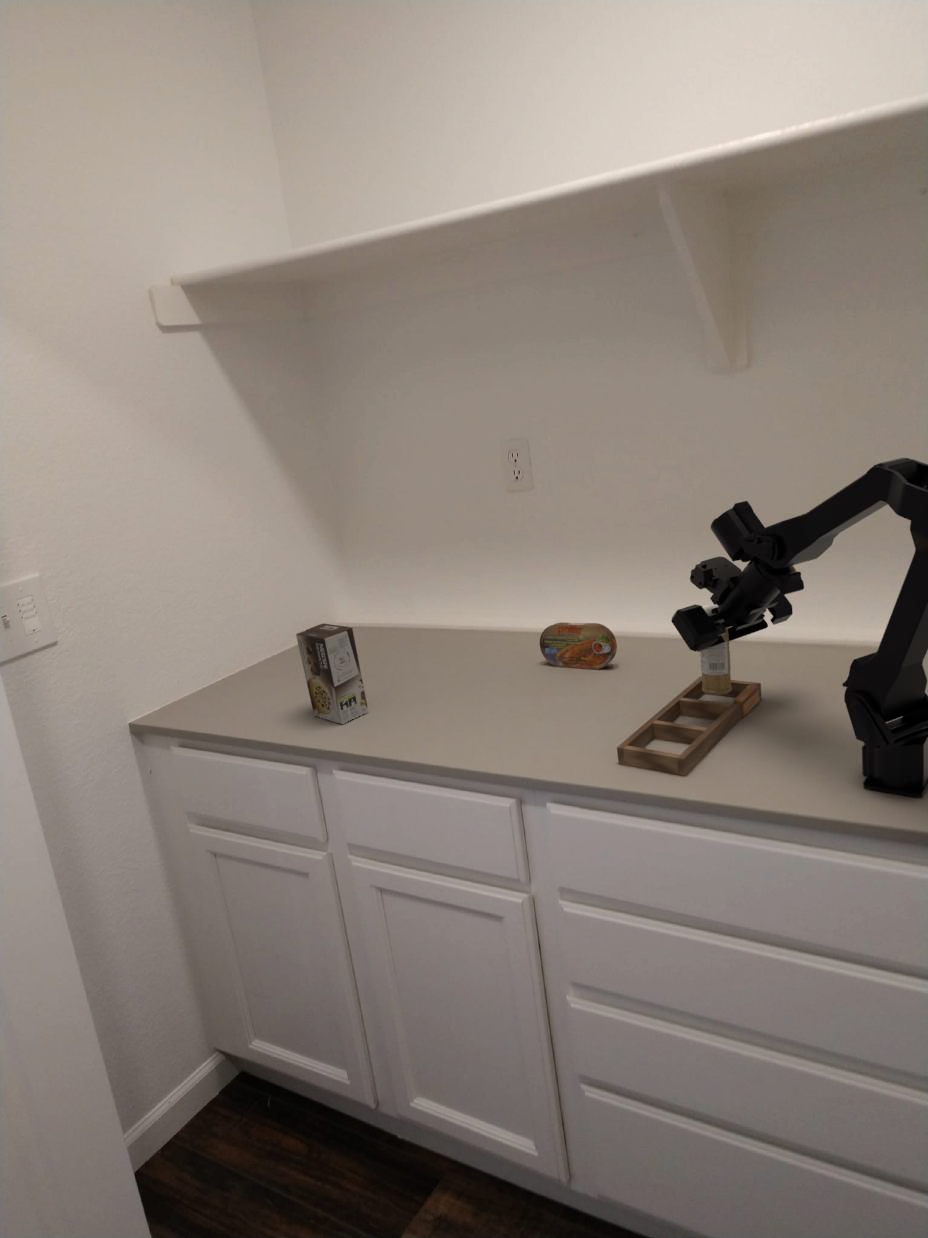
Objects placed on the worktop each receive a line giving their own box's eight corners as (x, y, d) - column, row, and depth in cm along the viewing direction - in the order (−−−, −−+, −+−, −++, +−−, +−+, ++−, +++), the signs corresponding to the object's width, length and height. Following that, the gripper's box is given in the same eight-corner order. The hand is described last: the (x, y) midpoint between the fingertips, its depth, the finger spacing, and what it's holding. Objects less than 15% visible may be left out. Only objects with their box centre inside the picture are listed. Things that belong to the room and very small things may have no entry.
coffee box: (370, 712, 153) (354, 627, 148) (341, 725, 148) (324, 638, 144) (340, 703, 159) (323, 621, 155) (312, 716, 155) (294, 632, 151)
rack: (764, 698, 133) (763, 681, 132) (688, 776, 113) (686, 757, 112) (700, 690, 140) (699, 674, 139) (618, 763, 119) (616, 745, 118)
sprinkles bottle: (734, 686, 133) (731, 603, 129) (728, 697, 129) (725, 611, 125) (704, 685, 135) (700, 603, 131) (698, 695, 131) (693, 611, 128)
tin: (541, 666, 163) (536, 624, 160) (549, 660, 165) (543, 619, 163) (614, 671, 154) (609, 627, 152) (621, 665, 157) (616, 621, 154)
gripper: (773, 528, 126) (725, 590, 138) (673, 556, 118) (633, 618, 131) (818, 587, 121) (765, 645, 133) (717, 620, 113) (671, 678, 126)
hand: (708, 645), depth 131 cm, fingers closed on sprinkles bottle, 4 cm apart
